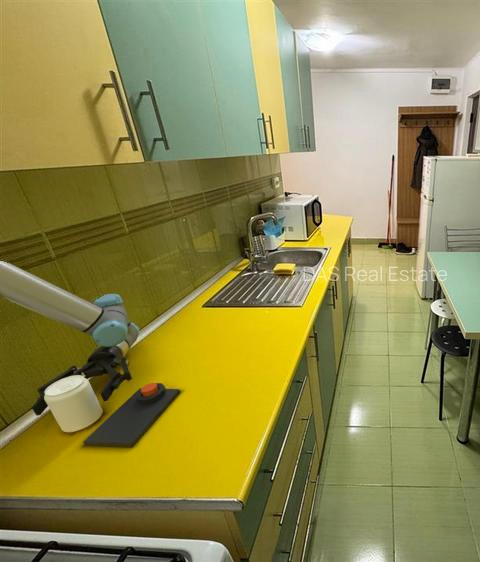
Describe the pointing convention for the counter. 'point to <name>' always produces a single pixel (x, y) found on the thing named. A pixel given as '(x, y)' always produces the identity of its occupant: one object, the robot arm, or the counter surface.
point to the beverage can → (73, 403)
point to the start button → (149, 389)
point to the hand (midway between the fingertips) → (70, 404)
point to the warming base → (132, 418)
